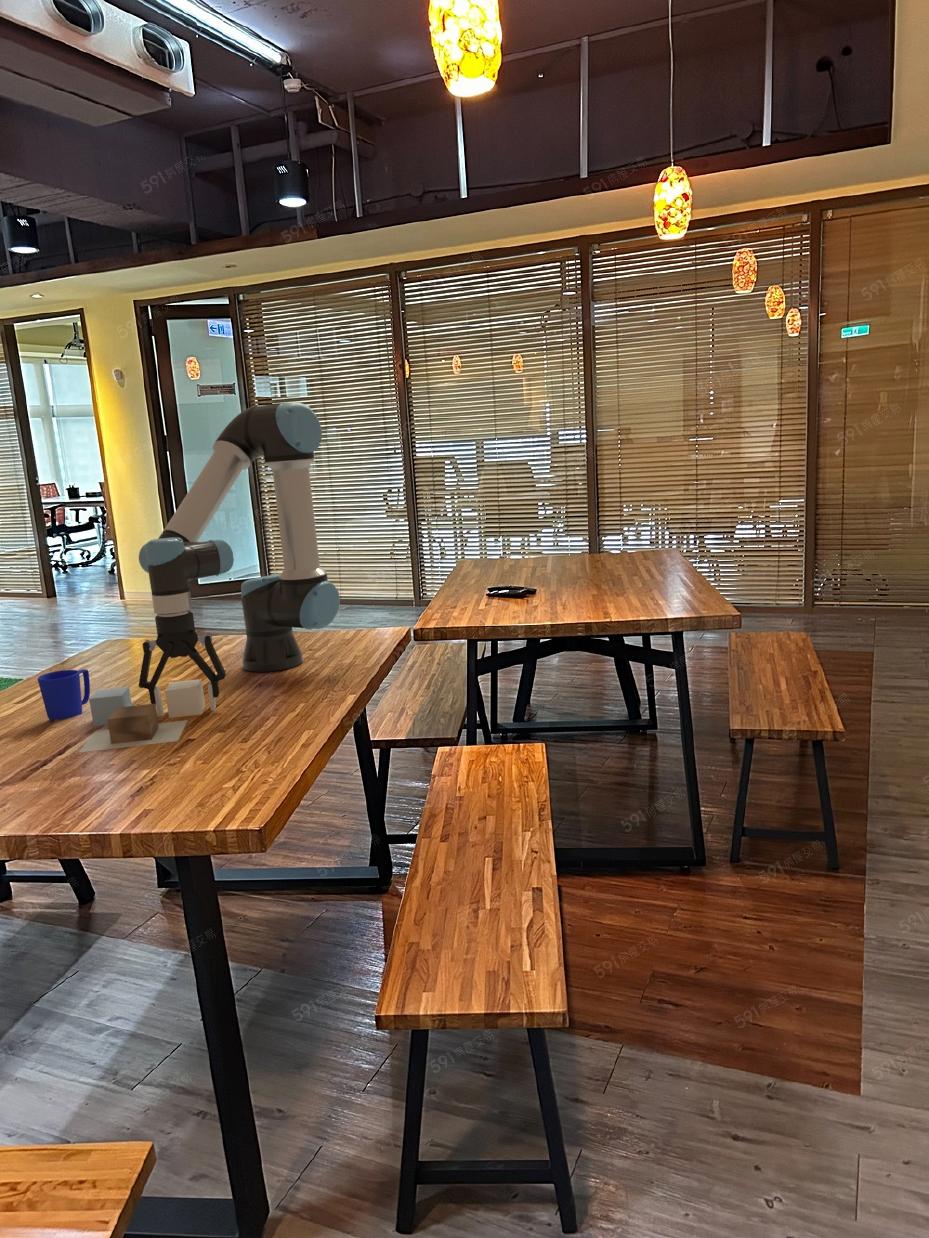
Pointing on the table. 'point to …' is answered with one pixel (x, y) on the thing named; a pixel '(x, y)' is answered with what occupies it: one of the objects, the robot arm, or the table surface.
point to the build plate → (162, 735)
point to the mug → (64, 693)
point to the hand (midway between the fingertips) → (187, 715)
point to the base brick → (133, 723)
